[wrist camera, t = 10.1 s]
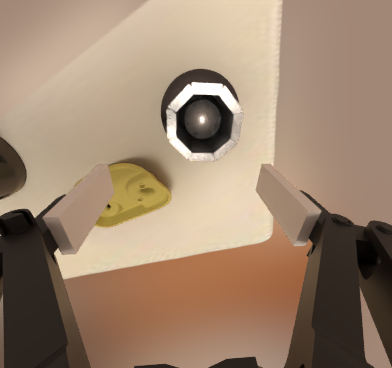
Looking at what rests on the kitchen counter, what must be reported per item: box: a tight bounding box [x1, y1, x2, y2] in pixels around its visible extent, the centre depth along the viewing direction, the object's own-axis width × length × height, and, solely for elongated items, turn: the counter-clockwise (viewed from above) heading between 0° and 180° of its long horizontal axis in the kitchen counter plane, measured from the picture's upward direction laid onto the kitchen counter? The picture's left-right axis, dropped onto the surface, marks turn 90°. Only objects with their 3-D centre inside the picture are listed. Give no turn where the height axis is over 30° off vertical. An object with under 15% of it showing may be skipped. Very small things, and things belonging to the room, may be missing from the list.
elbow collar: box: [166, 82, 243, 161], centre depth 27 cm, size 10×10×9 cm
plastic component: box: [75, 163, 171, 227], centre depth 37 cm, size 20×7×10 cm
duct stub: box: [161, 69, 239, 139], centre depth 29 cm, size 14×14×6 cm
